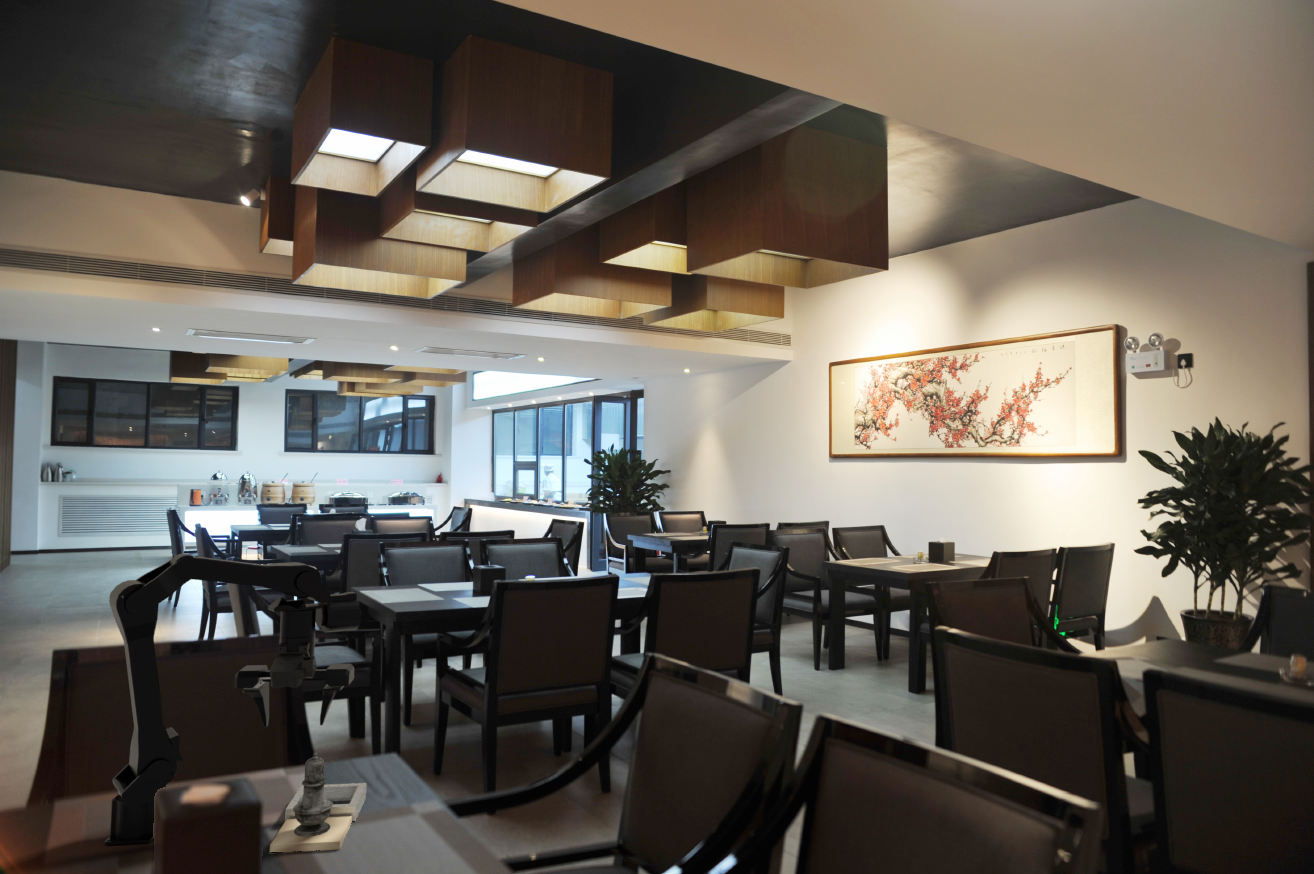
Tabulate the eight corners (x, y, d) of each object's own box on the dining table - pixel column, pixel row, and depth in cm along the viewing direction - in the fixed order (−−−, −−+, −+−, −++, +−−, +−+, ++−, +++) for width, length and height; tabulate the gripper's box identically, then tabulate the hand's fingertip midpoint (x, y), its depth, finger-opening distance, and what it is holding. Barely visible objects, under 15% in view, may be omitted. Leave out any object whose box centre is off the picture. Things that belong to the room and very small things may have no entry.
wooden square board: (269, 852, 127) (270, 844, 128) (286, 826, 137) (287, 818, 137) (339, 849, 129) (339, 841, 129) (351, 822, 139) (351, 815, 139)
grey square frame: (284, 824, 138) (285, 809, 138) (300, 799, 148) (301, 785, 149) (355, 821, 140) (355, 805, 140) (366, 797, 150) (366, 782, 150)
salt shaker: (317, 839, 130) (320, 759, 130) (283, 834, 131) (286, 755, 132) (339, 823, 136) (342, 747, 136) (307, 819, 137) (310, 744, 137)
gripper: (225, 644, 140) (221, 741, 139) (344, 643, 143) (341, 737, 142) (246, 632, 151) (242, 722, 150) (356, 631, 154) (353, 718, 153)
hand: (294, 725), depth 148 cm, fingers open, 9 cm apart
